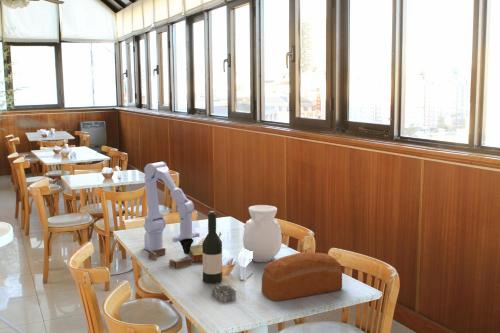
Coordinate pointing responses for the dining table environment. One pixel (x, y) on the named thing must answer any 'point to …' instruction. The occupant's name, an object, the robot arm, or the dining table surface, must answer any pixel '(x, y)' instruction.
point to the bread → (301, 276)
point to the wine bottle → (212, 253)
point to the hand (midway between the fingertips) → (186, 253)
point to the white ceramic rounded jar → (262, 233)
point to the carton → (196, 253)
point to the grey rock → (224, 293)
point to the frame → (172, 263)
